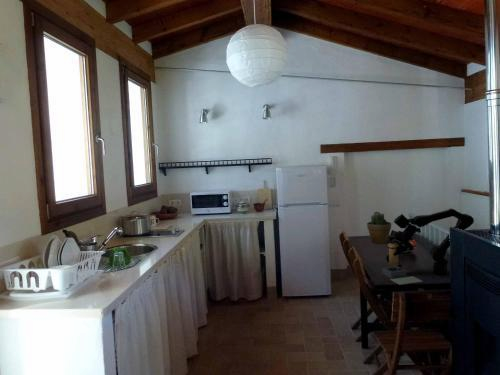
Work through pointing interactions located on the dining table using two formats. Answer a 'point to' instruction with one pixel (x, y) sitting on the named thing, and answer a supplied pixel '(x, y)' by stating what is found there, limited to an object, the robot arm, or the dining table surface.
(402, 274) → the clamp block
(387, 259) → the microphone
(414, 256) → the dining table surface
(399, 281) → the pad
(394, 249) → the tan upright cylinder
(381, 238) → the potted plant
